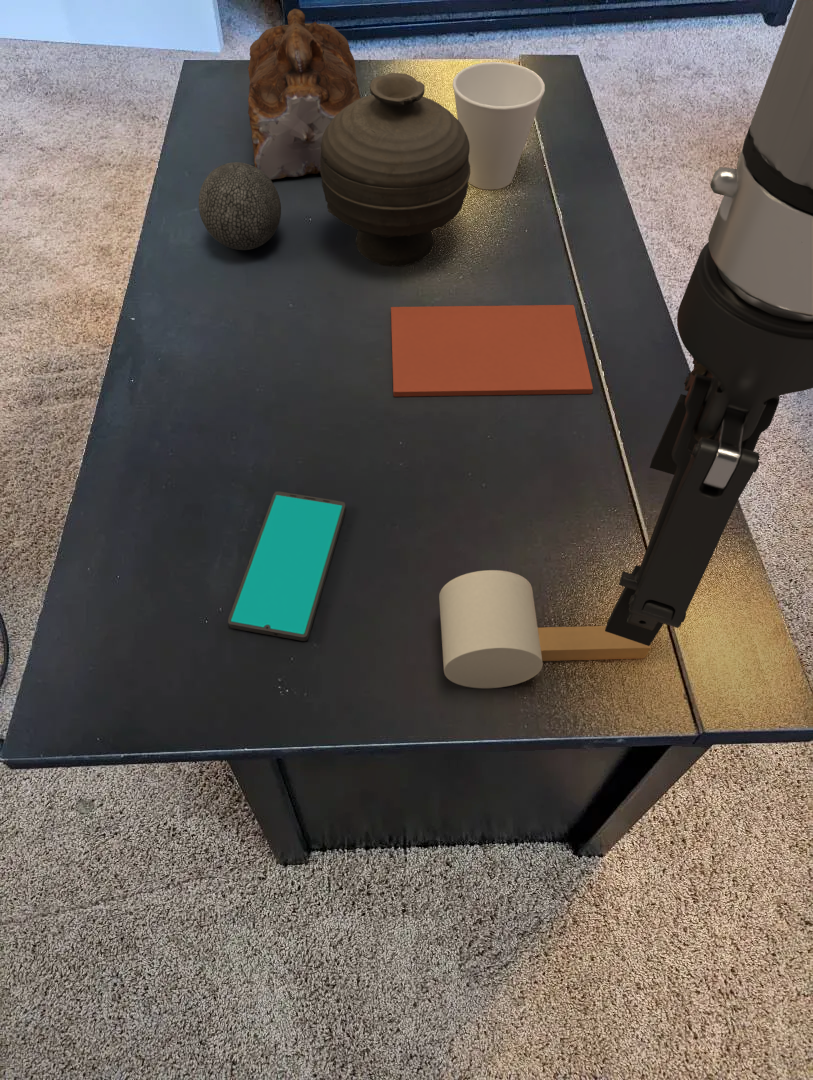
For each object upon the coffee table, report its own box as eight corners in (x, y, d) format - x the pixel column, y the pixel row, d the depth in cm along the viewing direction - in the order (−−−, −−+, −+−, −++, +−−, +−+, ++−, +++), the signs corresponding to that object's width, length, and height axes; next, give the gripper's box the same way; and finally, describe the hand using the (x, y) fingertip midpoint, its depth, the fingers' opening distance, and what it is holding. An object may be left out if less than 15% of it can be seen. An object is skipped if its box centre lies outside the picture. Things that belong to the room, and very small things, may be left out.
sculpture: (219, 166, 102) (222, 90, 113) (336, 227, 112) (328, 152, 123) (285, 34, 90) (281, -36, 101) (409, 116, 100) (393, 44, 111)
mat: (572, 309, 92) (573, 304, 91) (591, 394, 84) (593, 388, 84) (390, 312, 91) (390, 306, 91) (393, 397, 84) (393, 391, 83)
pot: (494, 223, 100) (502, 65, 83) (421, 307, 93) (412, 154, 76) (383, 182, 106) (368, 26, 89) (305, 258, 99) (273, 105, 82)
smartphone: (346, 502, 74) (306, 637, 66) (346, 507, 75) (307, 642, 67) (273, 490, 75) (225, 623, 67) (275, 495, 76) (227, 627, 68)
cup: (429, 176, 107) (433, 84, 97) (482, 143, 112) (491, 52, 102) (495, 211, 103) (506, 118, 93) (547, 174, 108) (563, 82, 97)
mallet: (634, 612, 69) (659, 566, 62) (650, 684, 65) (679, 643, 59) (437, 616, 69) (441, 570, 62) (441, 689, 65) (446, 649, 58)
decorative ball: (298, 229, 100) (289, 155, 92) (263, 274, 95) (250, 200, 87) (231, 212, 102) (216, 138, 94) (193, 255, 97) (174, 181, 89)
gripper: (742, 105, 39) (633, 399, 56) (643, 456, 26) (542, 694, 44) (897, 136, 37) (736, 427, 55) (874, 523, 24) (673, 741, 42)
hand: (650, 546), depth 49 cm, fingers open, 13 cm apart
